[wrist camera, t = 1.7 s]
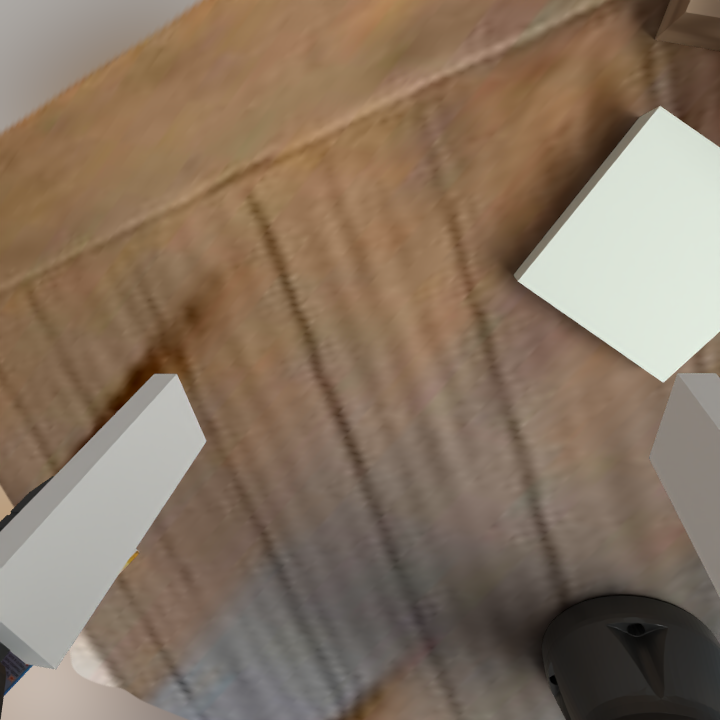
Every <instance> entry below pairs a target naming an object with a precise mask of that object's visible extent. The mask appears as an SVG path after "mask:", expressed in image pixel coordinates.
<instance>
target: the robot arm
mask: <svg viewBox="0 0 720 720" xmlns="http://www.w3.org/2000/svg"><path fill="white" fill-rule="evenodd" d="M205 443H206V439H205V437H204V435H203V432H202V430H201V428H200V425H199V423H198V421H197V419H196V416H195V414H194V412H193V410H192V407H191V405H190V403H189V400H188V398H187V396H186V394H185V391H184V389H183V387H182V384H181V382H180V380H179V378H178V375H177V374H154V375H153V376H152V377H151V378H150V379H149V380H148V381H147V382H146V383H145V384H144V385H143V386H142V387H141V388H140V389H139V390H138V391H137V392H136V393H135V394H134V395H133V396H132V397H131V398H130V400H129V401H128V402H127V403H126V404H125V405H124V406H123V407H122V408H121V409H120V410H119V411H118V412H117V413H116V414H115V415H114V416H113V417H112V418H111V419H110V420H109V421H108V422H107V423H106V424H105V425H104V426H103V427H102V428H101V429H100V430H99V431H98V432H97V433H96V434H95V435H94V436H93V437H92V438H91V439H90V440H89V441H88V443H87V444H86V445H85V446H84V447H83V448H82V449H81V450H80V451H79V452H78V453H77V454H76V455H75V456H74V457H73V458H72V459H71V460H70V461H69V462H68V463H67V464H66V465H65V466H64V467H63V468H62V469H61V470H60V471H59V472H58V473H57V474H56V475H55V476H53V477H51V478H50V479H48V480H47V481H45V482H44V483H42V484H41V485H40V486H38V487H37V488H35V489H34V490H32V491H31V492H29V493H28V494H27V495H26V496H25V497H24V498H23V500H22V501H21V502H20V503H19V504H18V505H17V506H16V507H15V508H14V509H13V510H12V511H11V514H10V515H7V516H6V517H5V518H4V519H3V520H2V521H1V522H0V719H1V712H2V705H3V697H4V690H5V682H6V669H5V666H4V665H3V664H2V663H1V662H2V660H3V659H4V658H5V656H6V655H7V654H8V652H9V651H11V652H12V653H13V654H14V655H16V656H17V657H18V658H19V659H20V660H22V661H23V662H24V663H25V664H29V665H35V666H40V667H45V668H51V669H57V667H58V666H59V664H60V663H61V661H62V660H63V658H64V656H65V655H66V653H67V652H68V650H69V649H70V647H71V646H72V644H73V643H74V641H75V640H76V638H77V637H78V635H79V634H80V632H81V631H82V629H83V628H84V626H85V625H86V623H87V622H88V620H89V619H90V617H91V616H92V614H93V613H94V611H95V610H96V608H97V607H98V605H99V603H100V602H101V600H102V599H103V597H104V596H105V594H106V593H107V591H108V590H109V588H110V587H111V585H112V584H113V582H114V581H115V579H116V578H117V576H118V575H119V573H120V572H121V570H122V569H123V567H124V566H125V564H126V563H127V561H128V560H129V558H130V557H131V555H132V553H133V552H134V550H135V549H136V547H137V546H138V544H139V543H140V541H141V540H142V538H143V537H144V535H145V534H146V532H147V531H148V529H149V528H150V526H151V525H152V523H153V522H154V520H155V519H156V517H157V516H158V514H159V513H160V511H161V510H162V508H163V507H164V505H165V503H166V502H167V500H168V499H169V497H170V496H171V494H172V493H173V491H174V490H175V488H176V487H177V485H178V484H179V482H180V481H181V479H182V478H183V476H184V475H185V473H186V472H187V470H188V469H189V467H190V466H191V464H192V463H193V461H194V460H195V458H196V457H197V455H198V454H199V452H200V450H201V449H202V447H203V446H204V444H205ZM649 459H650V461H651V463H652V465H653V467H654V469H655V471H656V473H657V475H658V477H659V478H660V480H661V482H662V484H663V486H664V488H665V490H666V492H667V494H668V496H669V498H670V500H671V502H672V504H673V506H674V508H675V510H676V512H677V514H678V516H679V518H680V520H681V522H682V524H683V526H684V528H685V530H686V532H687V534H688V536H689V538H690V540H691V542H692V544H693V546H694V548H695V550H696V552H697V553H698V555H699V557H700V559H701V561H702V563H703V565H704V567H705V569H706V571H707V573H708V575H709V577H710V579H711V581H712V583H713V585H714V587H715V589H716V591H717V593H718V595H719V597H720V378H719V377H718V375H717V374H716V373H677V376H676V379H675V382H674V385H673V388H672V391H671V394H670V397H669V400H668V403H667V406H666V409H665V412H664V415H663V418H662V421H661V424H660V427H659V430H658V433H657V436H656V439H655V442H654V445H653V448H652V451H651V453H650V456H649ZM542 656H543V662H544V668H545V673H546V678H547V681H548V684H549V687H550V689H551V691H552V693H553V695H554V697H555V699H556V701H557V703H558V705H559V707H560V709H561V711H562V713H563V715H564V717H565V719H566V720H720V644H719V643H718V641H717V639H716V638H715V636H714V635H713V633H712V632H711V631H710V630H709V629H708V628H707V627H706V626H705V625H704V624H703V623H702V622H701V621H700V620H698V619H697V618H696V617H694V616H692V615H691V614H689V613H688V612H686V611H684V610H682V609H680V608H678V607H676V606H673V605H671V604H668V603H665V602H662V601H658V600H654V599H650V598H644V597H637V596H608V597H601V598H596V599H592V600H588V601H585V602H582V603H579V604H577V605H575V606H573V607H571V608H569V609H567V610H566V611H564V612H563V613H561V614H560V615H559V616H558V617H557V618H555V619H554V621H553V622H552V623H551V624H550V626H549V627H548V629H547V630H546V632H545V635H544V638H543V642H542Z"/></svg>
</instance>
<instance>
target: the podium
mask: <svg viewBox="0 0 720 720" xmlns="http://www.w3.org/2000/svg"><path fill="white" fill-rule="evenodd" d="M514 277H515V278H516V280H517V281H518V282H520V283H521V284H522V285H524V286H525V287H527V288H528V289H530V290H531V291H532V292H534V293H535V294H537V295H538V296H540V297H541V298H543V299H544V300H545V301H547V302H548V303H550V304H551V305H553V306H554V307H555V308H557V309H558V310H560V311H561V312H563V313H564V314H565V315H567V316H568V317H570V318H571V319H573V320H574V321H576V322H577V323H578V324H580V325H581V326H583V327H584V328H586V329H587V330H588V331H590V332H591V333H593V334H594V335H596V336H597V337H599V338H600V339H601V340H603V341H604V342H606V343H607V344H609V345H610V346H611V347H613V348H614V349H616V350H617V351H619V352H620V353H622V354H623V355H624V356H626V357H627V358H629V359H630V360H632V361H633V362H634V363H636V364H637V365H639V366H640V367H642V368H643V369H644V370H646V371H647V372H649V373H650V374H652V375H653V376H655V377H656V378H657V379H659V380H660V381H662V382H665V381H666V380H667V379H668V378H669V377H670V376H671V375H672V374H673V373H674V372H676V371H677V370H678V369H679V368H680V367H681V366H682V365H683V364H684V363H685V362H687V361H688V360H689V359H690V358H691V357H692V356H693V355H694V354H695V353H696V352H698V351H699V350H700V349H701V348H702V347H703V346H704V345H705V344H706V343H707V342H708V341H710V340H711V339H712V338H713V337H714V336H715V335H716V334H717V333H718V332H719V331H720V147H718V146H717V145H715V144H714V143H712V142H711V141H710V140H708V139H707V138H705V137H704V136H702V135H701V134H700V133H698V132H697V131H695V130H694V129H692V128H691V127H689V126H688V125H687V124H685V123H684V122H682V121H681V120H679V119H678V118H677V117H675V116H674V115H672V114H671V113H669V112H668V111H666V110H665V109H664V108H662V107H661V106H659V107H657V108H655V109H653V110H652V111H650V112H648V113H646V114H644V115H642V116H640V117H639V119H638V120H637V121H636V122H635V124H634V125H633V126H632V127H631V129H630V130H629V131H628V132H627V134H626V135H625V136H624V137H623V139H622V140H621V141H620V142H619V144H618V145H617V146H616V147H615V149H614V150H613V151H612V152H611V154H610V155H609V156H608V157H607V159H606V160H605V161H604V162H603V164H602V165H601V166H600V167H599V168H598V170H597V171H596V172H595V173H594V175H593V176H592V177H591V178H590V180H589V181H588V182H587V183H586V185H585V186H584V187H583V188H582V190H581V191H580V192H579V193H578V195H577V196H576V197H575V198H574V200H573V201H572V202H571V203H570V205H569V206H568V207H567V208H566V210H565V211H564V212H563V213H562V215H561V216H560V217H559V218H558V220H557V221H556V222H555V223H554V225H553V226H552V227H551V228H550V230H549V231H548V232H547V233H546V235H545V236H544V237H543V238H542V240H541V241H540V242H539V243H538V245H537V246H536V247H535V248H534V250H533V251H532V252H531V253H530V255H529V256H528V257H527V258H526V260H525V261H524V262H523V263H522V265H521V266H520V267H519V268H518V270H517V271H516V272H515V273H514Z"/></svg>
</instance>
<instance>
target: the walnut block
mask: <svg viewBox="0 0 720 720" xmlns="http://www.w3.org/2000/svg"><path fill="white" fill-rule="evenodd" d="M655 40H659V41H665V42H670V43H676V44H682V45H688V46H694V47H699V48H705V49H711V50H717V51H720V0H670V2H669V5H668V7H667V10H666V12H665V15H664V17H663V20H662V22H661V25H660V27H659V30H658V32H657V35H656V37H655Z"/></svg>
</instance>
